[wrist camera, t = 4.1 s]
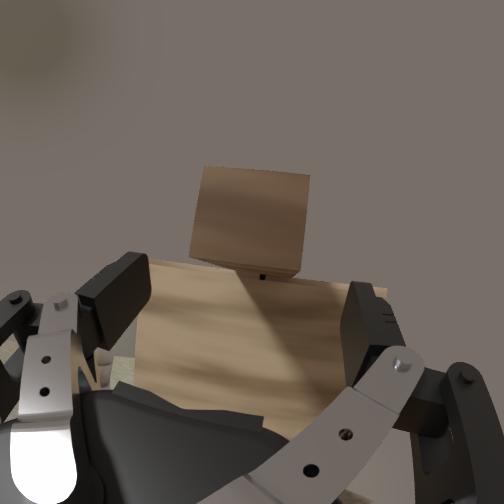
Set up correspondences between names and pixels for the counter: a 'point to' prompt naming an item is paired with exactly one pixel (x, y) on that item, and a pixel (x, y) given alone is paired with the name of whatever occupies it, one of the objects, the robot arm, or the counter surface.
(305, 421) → the wooden block
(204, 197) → the brown wooden bar
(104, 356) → the plastic bottle
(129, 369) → the counter surface
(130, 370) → the counter surface
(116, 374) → the counter surface
